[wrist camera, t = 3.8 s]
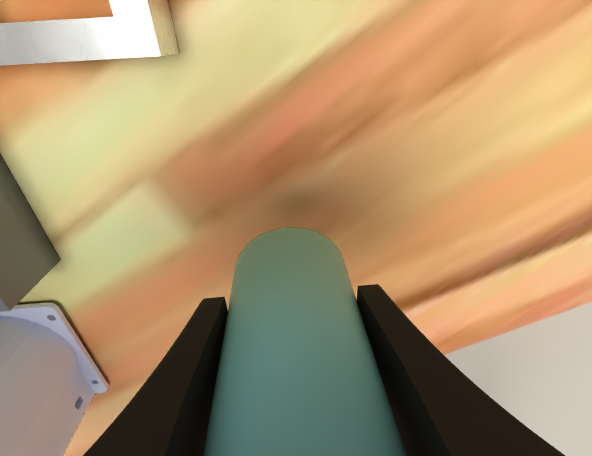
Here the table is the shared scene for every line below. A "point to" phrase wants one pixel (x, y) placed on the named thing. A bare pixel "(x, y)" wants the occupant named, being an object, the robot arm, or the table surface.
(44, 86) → the table surface
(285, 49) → the table surface
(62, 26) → the white square frame
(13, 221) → the case
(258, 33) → the table surface
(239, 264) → the teal cylinder
